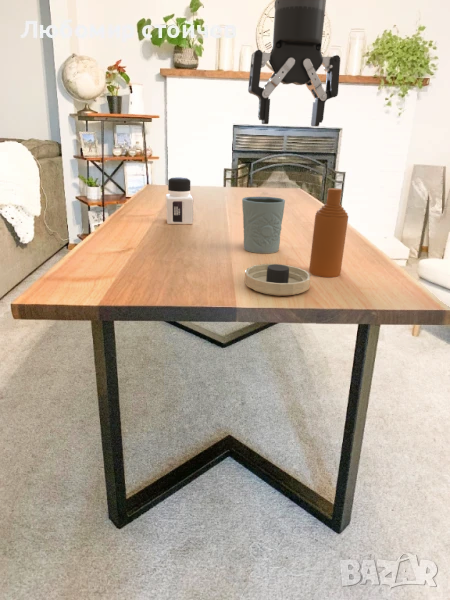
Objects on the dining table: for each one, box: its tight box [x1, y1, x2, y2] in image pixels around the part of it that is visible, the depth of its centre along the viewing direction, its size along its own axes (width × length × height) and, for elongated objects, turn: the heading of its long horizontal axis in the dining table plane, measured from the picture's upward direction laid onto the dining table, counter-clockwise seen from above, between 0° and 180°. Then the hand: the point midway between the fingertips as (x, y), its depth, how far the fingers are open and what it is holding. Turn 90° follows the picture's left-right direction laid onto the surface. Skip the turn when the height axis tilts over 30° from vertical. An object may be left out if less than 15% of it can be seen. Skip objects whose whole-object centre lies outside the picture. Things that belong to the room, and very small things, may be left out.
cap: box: [266, 263, 289, 283], centre depth 82 cm, size 4×4×3 cm
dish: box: [244, 263, 312, 297], centre depth 83 cm, size 12×12×2 cm
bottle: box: [308, 187, 349, 278], centre depth 89 cm, size 6×6×17 cm
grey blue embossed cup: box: [241, 196, 286, 254], centre depth 106 cm, size 10×10×12 cm
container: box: [165, 176, 194, 225], centre depth 133 cm, size 8×8×13 cm
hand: (290, 125), depth 73 cm, fingers open, 8 cm apart
